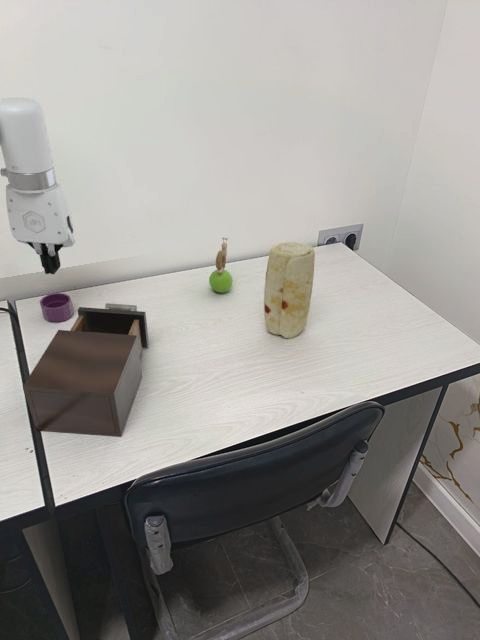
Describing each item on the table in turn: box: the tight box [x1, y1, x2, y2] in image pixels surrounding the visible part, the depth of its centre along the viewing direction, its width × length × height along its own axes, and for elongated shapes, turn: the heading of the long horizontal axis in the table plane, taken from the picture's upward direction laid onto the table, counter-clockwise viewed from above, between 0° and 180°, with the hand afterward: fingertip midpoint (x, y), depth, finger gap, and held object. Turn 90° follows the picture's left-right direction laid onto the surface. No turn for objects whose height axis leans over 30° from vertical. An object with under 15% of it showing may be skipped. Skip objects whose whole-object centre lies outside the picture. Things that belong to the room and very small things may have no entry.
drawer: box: [69, 302, 150, 357], centre depth 92 cm, size 19×12×8 cm, turn 178°
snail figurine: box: [208, 236, 234, 294], centre depth 113 cm, size 5×6×12 cm
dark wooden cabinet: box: [22, 329, 143, 438], centre depth 82 cm, size 15×14×10 cm
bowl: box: [39, 292, 74, 323], centre depth 104 cm, size 6×6×4 cm
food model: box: [263, 241, 316, 339], centre depth 99 cm, size 10×7×20 cm
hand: (52, 270), depth 97 cm, fingers closed
